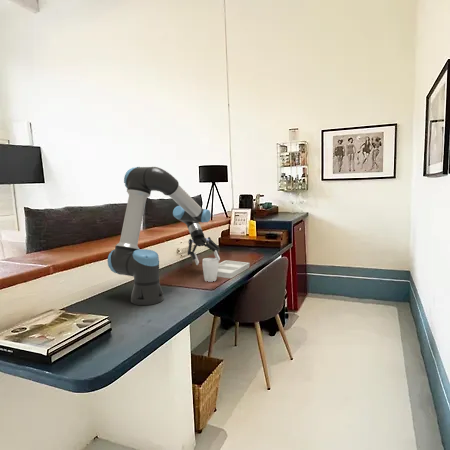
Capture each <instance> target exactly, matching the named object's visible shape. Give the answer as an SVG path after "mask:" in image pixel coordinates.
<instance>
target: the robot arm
mask: <svg viewBox="0 0 450 450" xmlns="http://www.w3.org/2000/svg"><path fill="white" fill-rule="evenodd" d="M123 178H124V179H123V183H124V186H125V188H126V192H127V194H128V199H127V203H126V209H125V213H124V219H123V224H122V229H121V233H120V239H119V242H118V243H117V244H115V247H114V249H113V250H111V251H110V252H109V254H108V256H107V266H108V268H109V270H110V271H111V272H113V273H114V274H117V275H123V276H129V277H133V288H132V291H131V294H130V295H131V296H130V303H132V304H133V305H138V306H149V305H150V306H151V305H156V304H160V303H161V302H163V301H164V299H165V298H164V292H163V289H162V286H161V283H160V257H159V254H158V253H157V252H156V251H155V250H152V249H142V248H141V249H140V247H139V246H138V244H139V239H140V233H141V228H142V223H143V218H144V213H145V207H146V202H147V199H148V198H149V197H150V196H151V193H152V192H154V191H155V192H160V193H162V195H165V196H167V197H170V198H171V199H172V200H173V201H174V202H175V203H176V204H177V206H175V207H174V209H173V210H172V216H173V217H174V218H175V219H177V220H178V221H180V222H182V223H184V224H185V225H186V226H187V229H188V233H189V235H190V237H191V238H189V239H188V243H187V244H188V247H187V256H189V255H190V257H191V258H192V260H194V262H195V265H196V266H198V265H199V263H200V260H199V258H198V256H197V253H196V252H195V251H196V249H197V247H206V248H207V249H209V250H211V251H212V252H213V255H214V258H217V259H218V263H220V260H221V258H220V253H219V250H220V247H219V246H218V245H217V244H216V243H215V242H214V241H213V240H212V238H211V237H210V236H208V237H207V238H206V236H205V234H204V233H205V232H203V229H202V226H201V224H200V223H208V222H210V220H211V217H212V213H211V211H210V210H209V209H206V208H203V207H201V206H200V205H199V204H198V203H197V201H195V199H194V198H193V197H191V196H190V195H189V193H187V192H186V190H184V188H183V187H182V186H180V184H179V181H178V180H177V178H176V177H174V176H173V175H172V174H171V173H170V172H168V171H167V170H165V169H163V168H161V167H158V166H136V167H135V166H134V167H132V168H129V169H128V170H127V171H126V173H125V174H124V176H123ZM193 244H194V246H193ZM192 246H193V249H192Z"/></svg>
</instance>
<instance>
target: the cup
mask: <svg viewBox="0 0 450 450" xmlns="http://www.w3.org/2000/svg"><path fill="white" fill-rule="evenodd" d="M218 264H219V262H218V259H217V258H216V257H204V258H202V270H203V271H202V274H203V278H204V281H205V282H207V281H208V283H213V281H214V282H216V281H217V279H218V277H217V272H218Z"/></svg>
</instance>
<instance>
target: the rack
mask: <svg viewBox="0 0 450 450" xmlns="http://www.w3.org/2000/svg"><path fill="white" fill-rule="evenodd" d="M249 268H250V262H245V261H235V260H229V259H227V260H223V261H221V262H218V272H217V278H225V279H232V278H234V277H236V276H237V275H239V274H241V273H243V272H244V271H246V270H247V269H249Z"/></svg>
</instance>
